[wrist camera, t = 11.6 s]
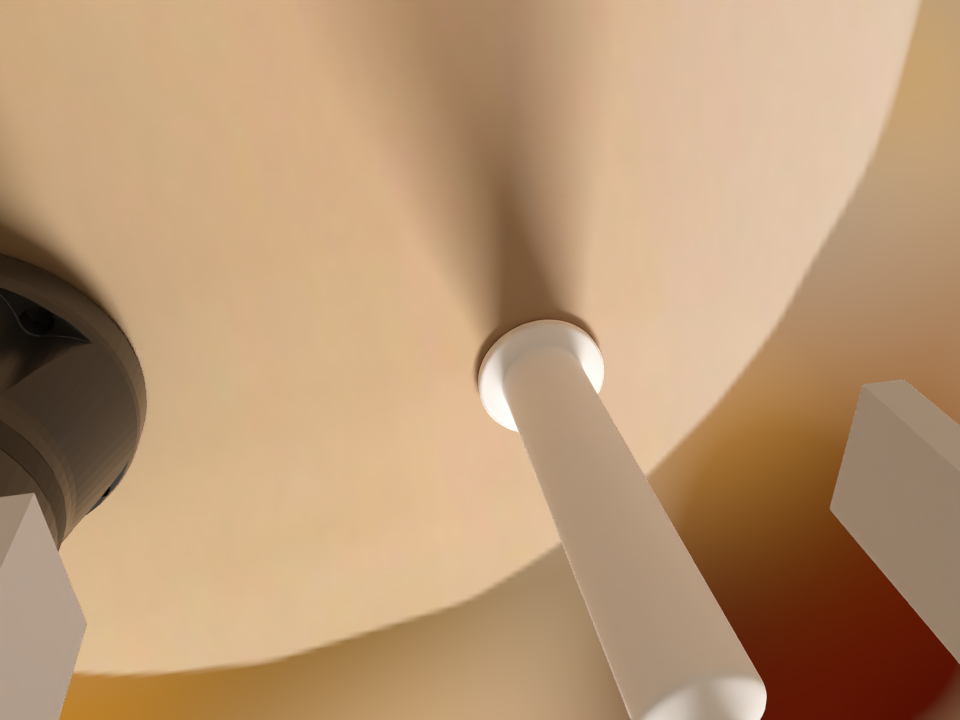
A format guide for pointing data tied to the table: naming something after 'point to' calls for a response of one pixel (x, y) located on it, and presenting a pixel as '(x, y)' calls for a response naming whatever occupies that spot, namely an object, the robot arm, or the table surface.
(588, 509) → the candle
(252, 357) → the table surface
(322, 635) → the table surface
